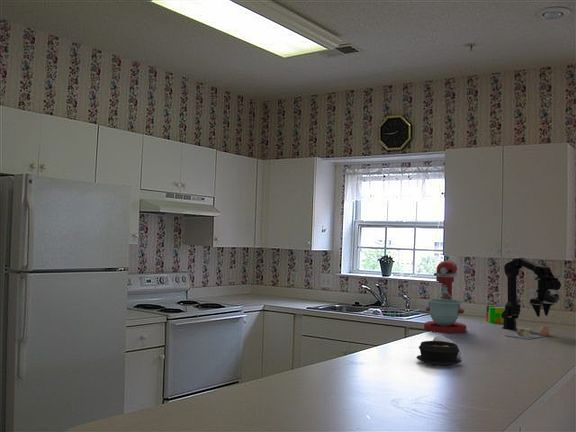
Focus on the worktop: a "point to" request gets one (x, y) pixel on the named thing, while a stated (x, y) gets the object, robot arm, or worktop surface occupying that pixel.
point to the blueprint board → (523, 336)
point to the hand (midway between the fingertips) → (542, 316)
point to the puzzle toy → (495, 314)
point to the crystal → (441, 338)
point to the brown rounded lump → (544, 331)
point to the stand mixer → (445, 303)
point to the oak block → (523, 332)
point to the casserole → (439, 353)
